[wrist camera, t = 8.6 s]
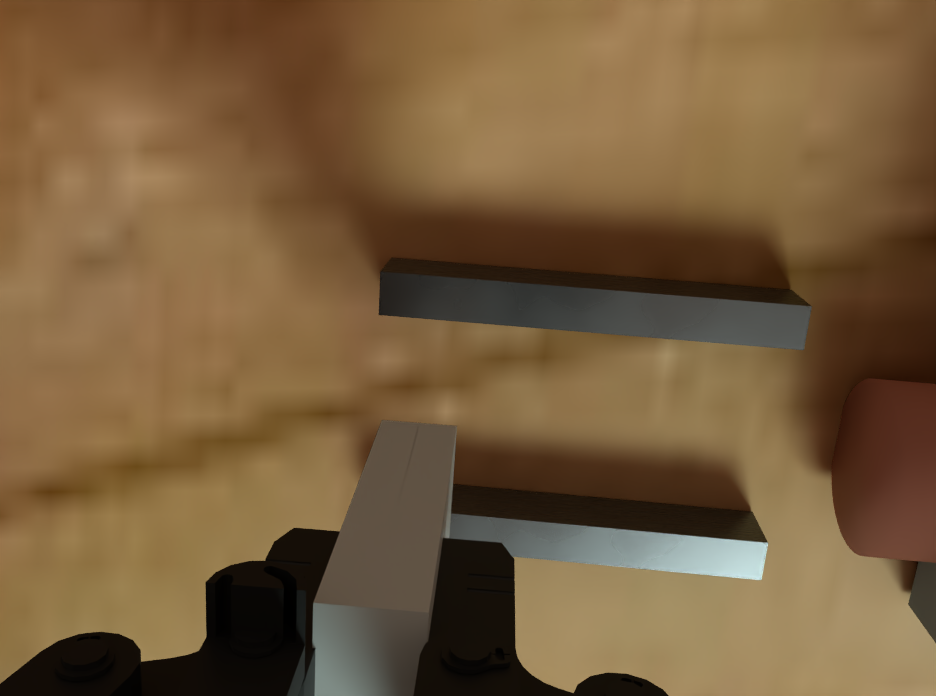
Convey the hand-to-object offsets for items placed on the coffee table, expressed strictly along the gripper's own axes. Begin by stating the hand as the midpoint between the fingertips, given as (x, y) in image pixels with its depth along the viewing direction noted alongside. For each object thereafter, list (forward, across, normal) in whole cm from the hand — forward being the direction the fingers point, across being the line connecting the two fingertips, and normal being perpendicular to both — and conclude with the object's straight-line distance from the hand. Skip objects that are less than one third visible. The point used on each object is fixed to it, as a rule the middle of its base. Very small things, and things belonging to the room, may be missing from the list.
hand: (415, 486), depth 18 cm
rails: (+5, -4, 0) cm, 6 cm away
